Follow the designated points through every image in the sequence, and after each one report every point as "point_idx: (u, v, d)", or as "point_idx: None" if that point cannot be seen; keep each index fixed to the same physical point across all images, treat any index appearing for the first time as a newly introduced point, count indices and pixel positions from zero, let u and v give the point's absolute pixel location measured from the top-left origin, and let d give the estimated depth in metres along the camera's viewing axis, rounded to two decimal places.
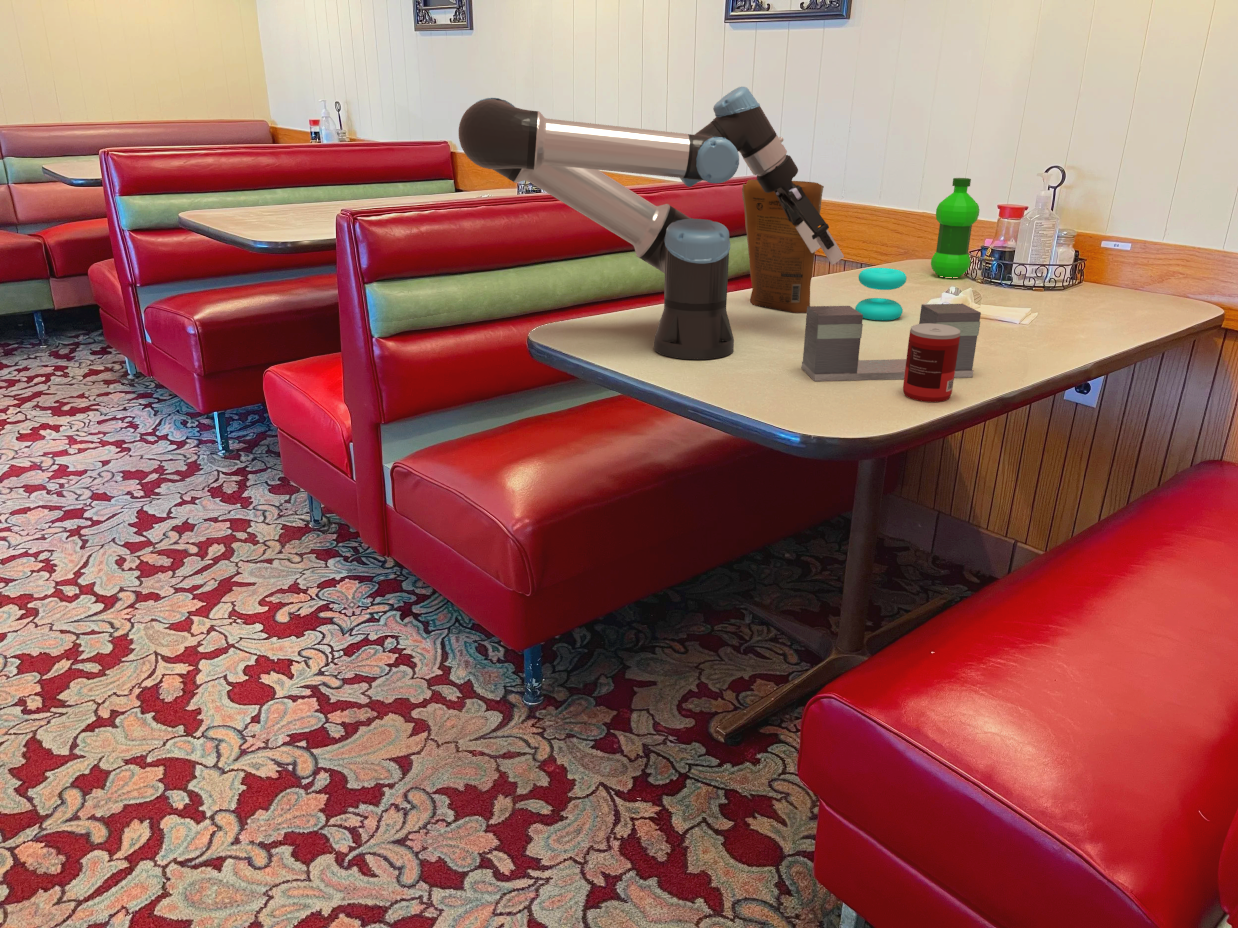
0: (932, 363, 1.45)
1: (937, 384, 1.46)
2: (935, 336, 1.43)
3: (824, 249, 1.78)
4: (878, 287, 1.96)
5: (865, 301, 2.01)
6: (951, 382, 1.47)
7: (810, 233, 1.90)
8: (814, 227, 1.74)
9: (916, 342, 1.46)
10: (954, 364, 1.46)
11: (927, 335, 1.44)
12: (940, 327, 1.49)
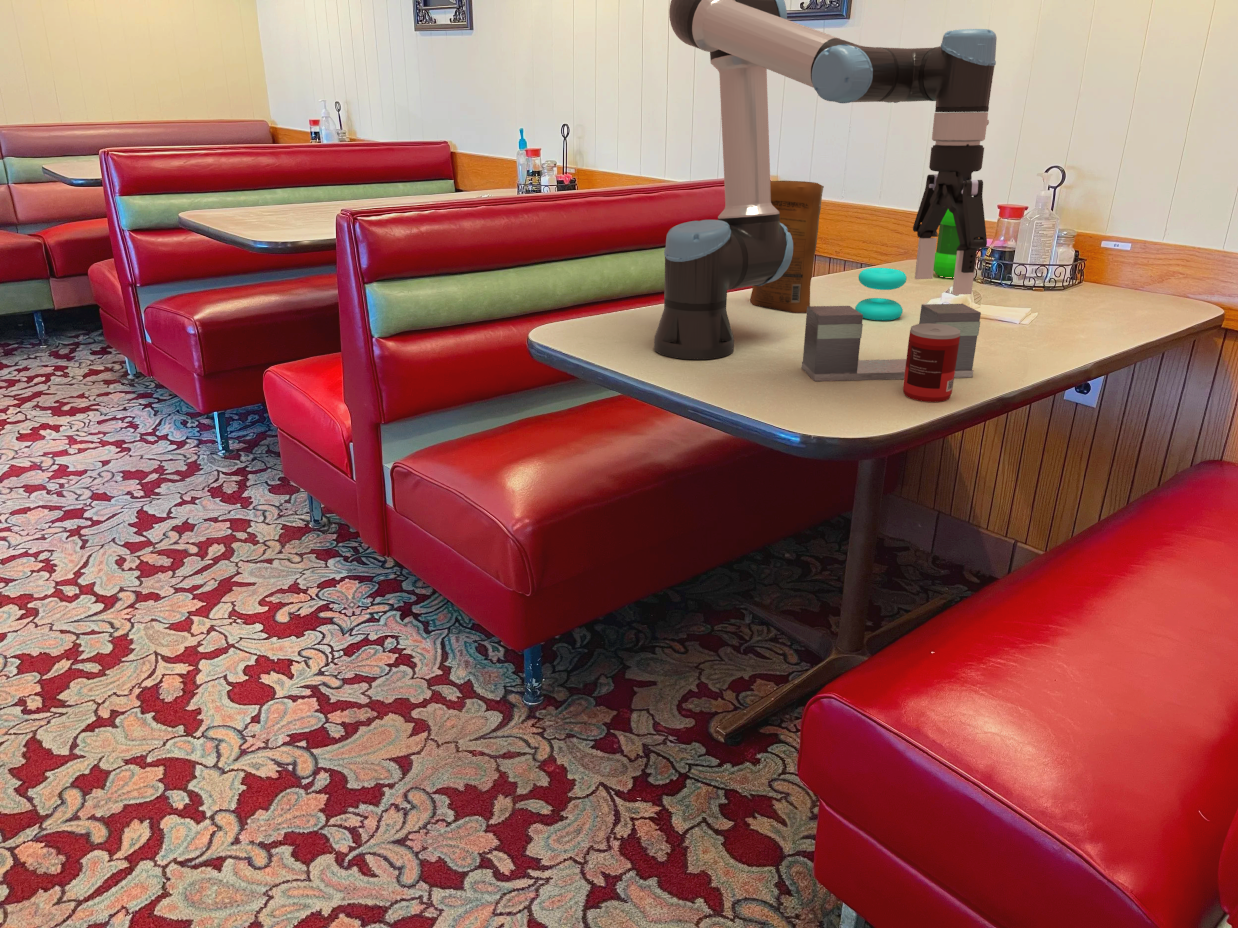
0: (932, 363, 1.45)
1: (937, 384, 1.46)
2: (935, 336, 1.43)
3: (958, 270, 1.38)
4: (878, 287, 1.96)
5: (865, 301, 2.01)
6: (951, 382, 1.47)
7: (929, 256, 1.51)
8: (972, 235, 1.34)
9: (916, 342, 1.46)
10: (954, 364, 1.46)
11: (927, 335, 1.44)
12: (940, 327, 1.49)
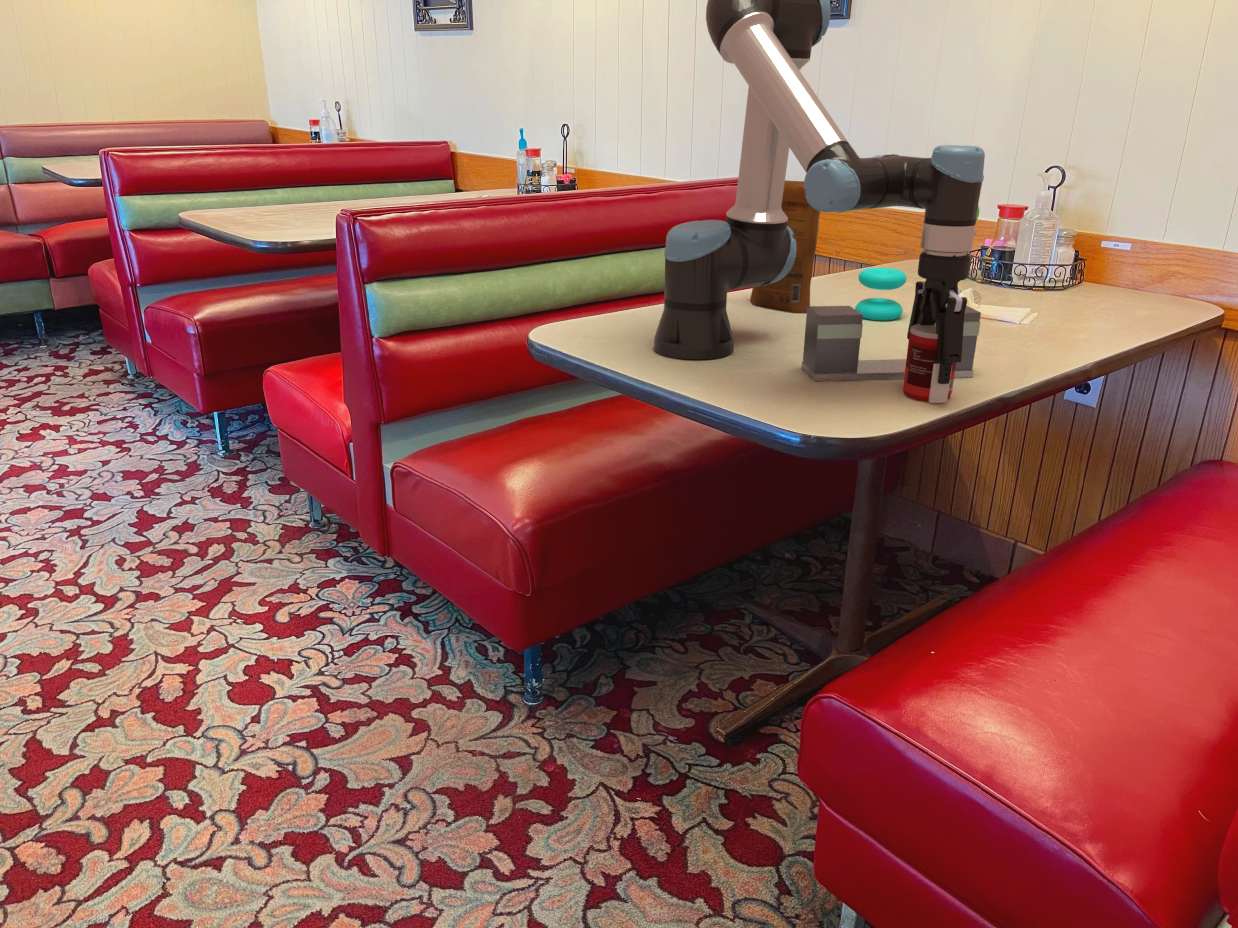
0: (932, 363, 1.45)
1: None
2: (935, 336, 1.43)
3: (934, 381, 1.45)
4: (878, 287, 1.96)
5: (865, 301, 2.01)
6: (951, 382, 1.47)
7: None
8: (948, 352, 1.40)
9: (916, 342, 1.46)
10: (954, 364, 1.46)
11: (927, 334, 1.44)
12: None
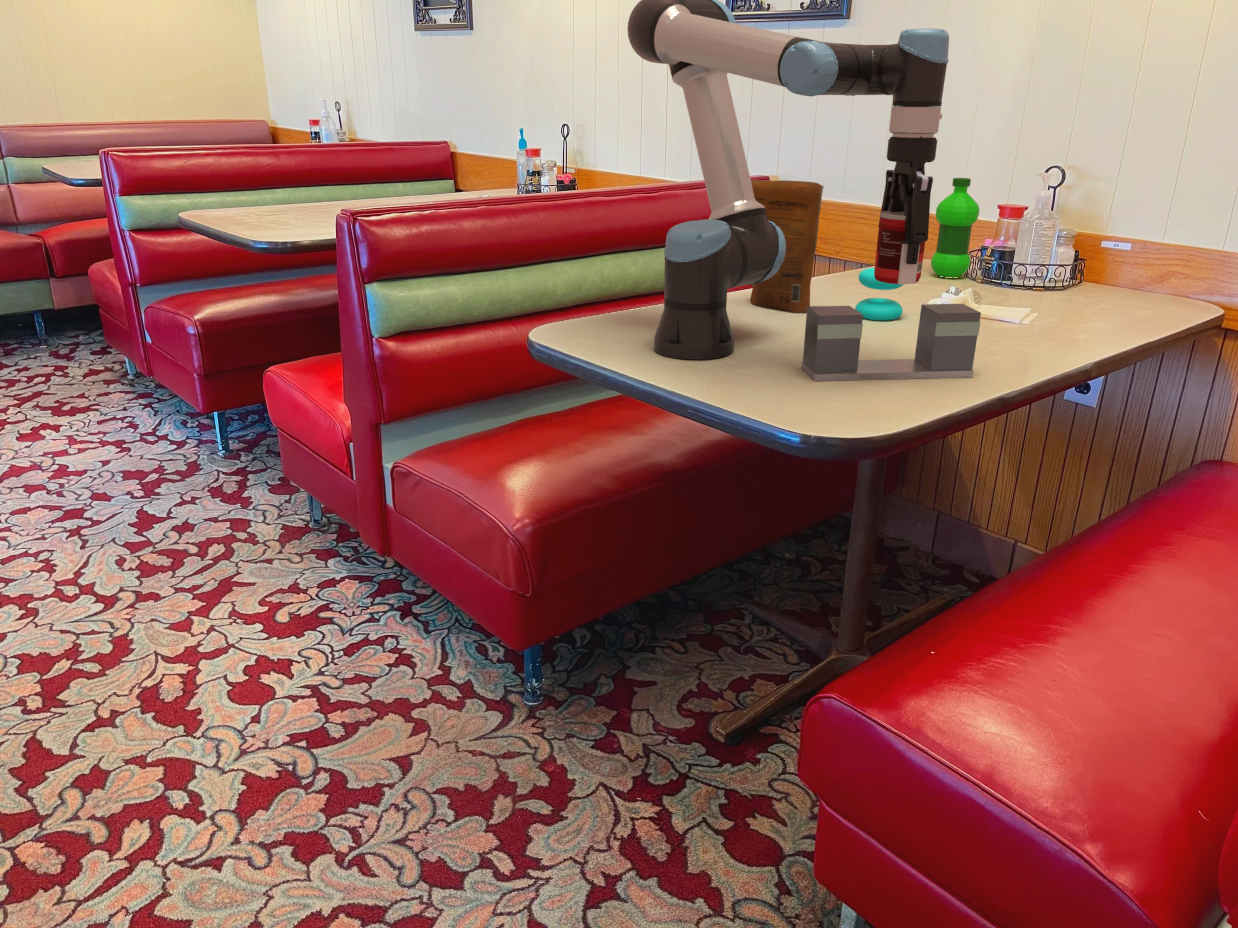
0: (901, 245, 1.50)
1: None
2: (903, 217, 1.49)
3: (903, 262, 1.51)
4: (878, 287, 1.96)
5: (865, 301, 2.01)
6: (920, 265, 1.53)
7: None
8: (915, 231, 1.46)
9: (885, 225, 1.51)
10: (922, 247, 1.52)
11: (895, 216, 1.49)
12: None
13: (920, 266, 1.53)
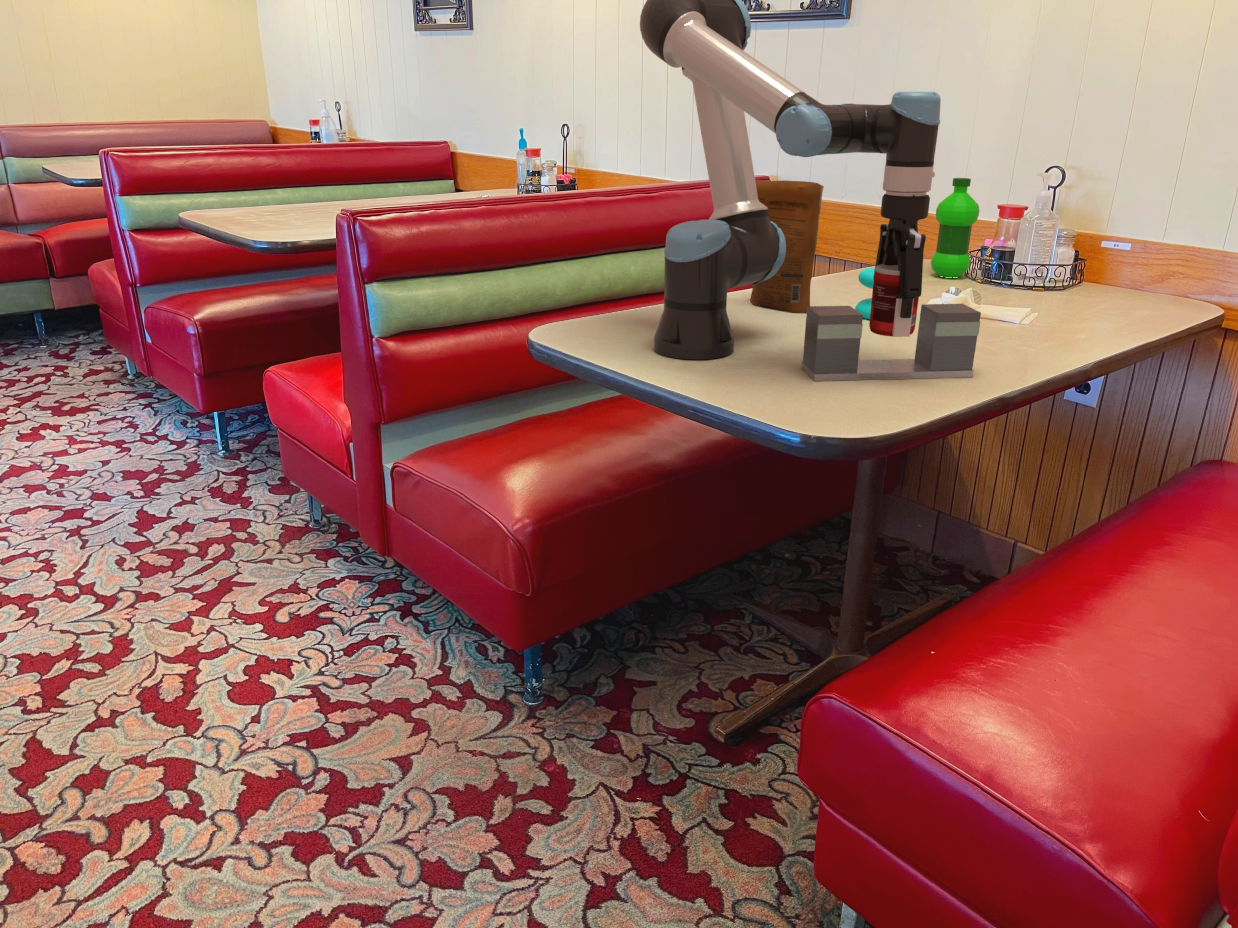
0: (895, 299, 1.54)
1: None
2: (897, 272, 1.52)
3: (897, 316, 1.54)
4: None
5: (865, 301, 2.01)
6: (914, 317, 1.56)
7: None
8: (908, 286, 1.49)
9: (880, 279, 1.54)
10: (916, 300, 1.55)
11: (890, 271, 1.53)
12: None
13: (914, 319, 1.56)
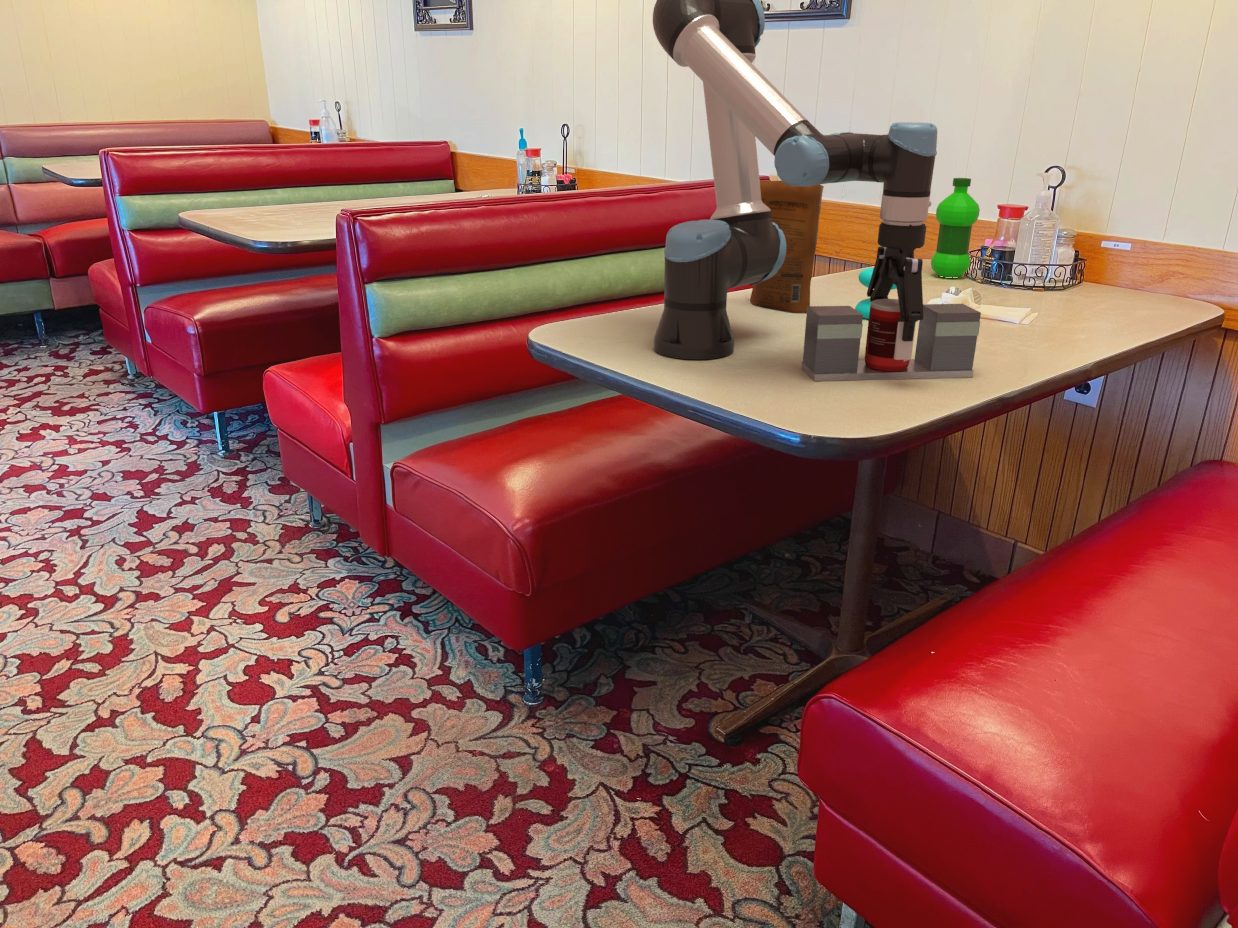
0: (890, 335, 1.56)
1: None
2: (892, 309, 1.55)
3: (899, 339, 1.53)
4: None
5: (865, 301, 2.01)
6: None
7: None
8: (910, 309, 1.49)
9: (875, 315, 1.57)
10: None
11: (885, 308, 1.55)
12: (898, 302, 1.60)
13: None
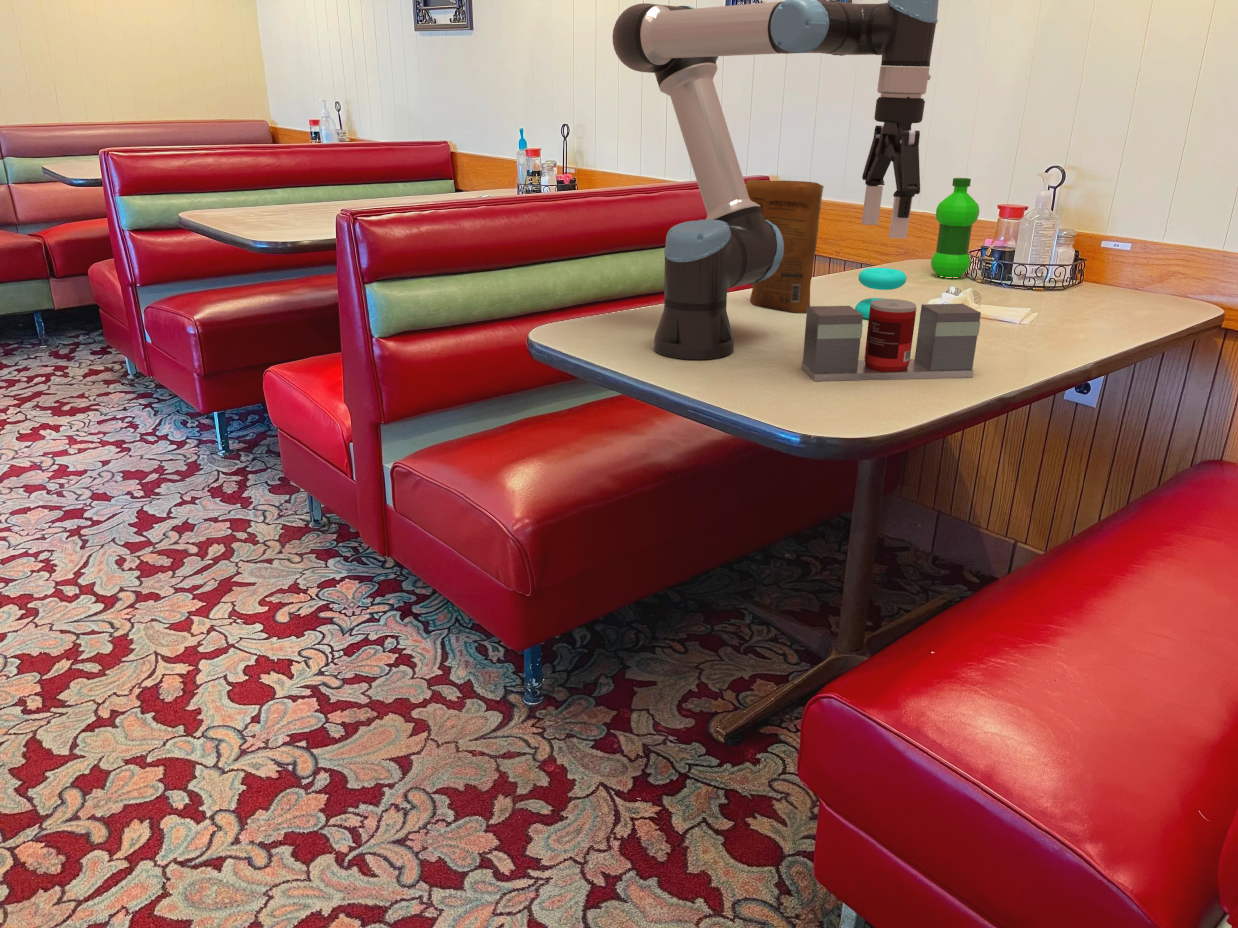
0: (890, 335, 1.56)
1: (894, 355, 1.57)
2: (892, 310, 1.55)
3: (895, 215, 1.49)
4: (878, 287, 1.96)
5: (865, 301, 2.01)
6: (908, 353, 1.59)
7: (875, 203, 1.61)
8: (906, 182, 1.44)
9: (875, 315, 1.57)
10: (911, 336, 1.58)
11: (885, 308, 1.55)
12: (898, 302, 1.60)
13: (908, 354, 1.59)
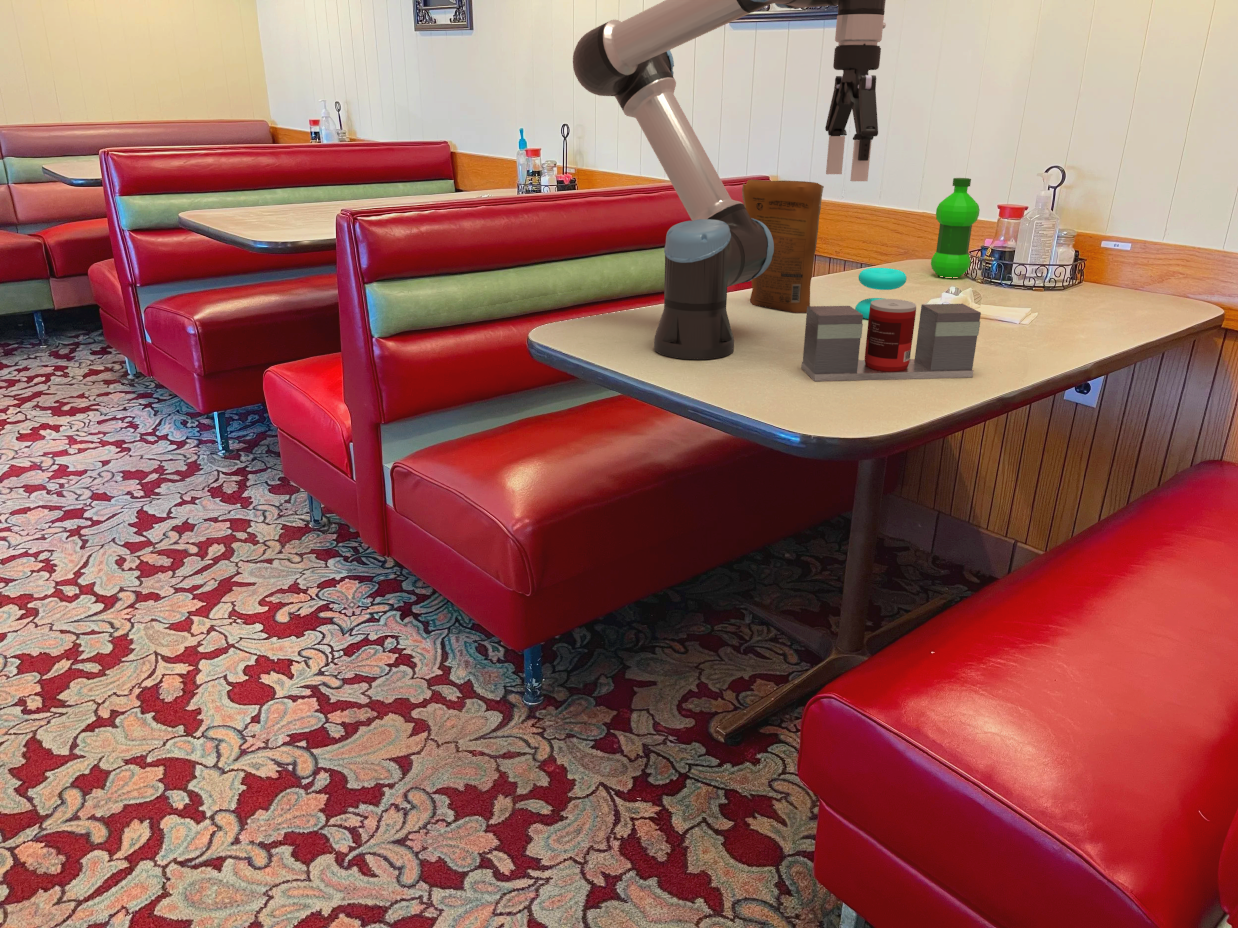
0: (890, 335, 1.56)
1: (894, 355, 1.57)
2: (892, 310, 1.55)
3: (855, 159, 1.54)
4: (878, 287, 1.96)
5: (865, 301, 2.01)
6: (908, 353, 1.59)
7: (838, 152, 1.67)
8: (864, 125, 1.50)
9: (875, 315, 1.57)
10: (911, 336, 1.58)
11: (884, 308, 1.55)
12: (898, 302, 1.60)
13: (908, 354, 1.59)
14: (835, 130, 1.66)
